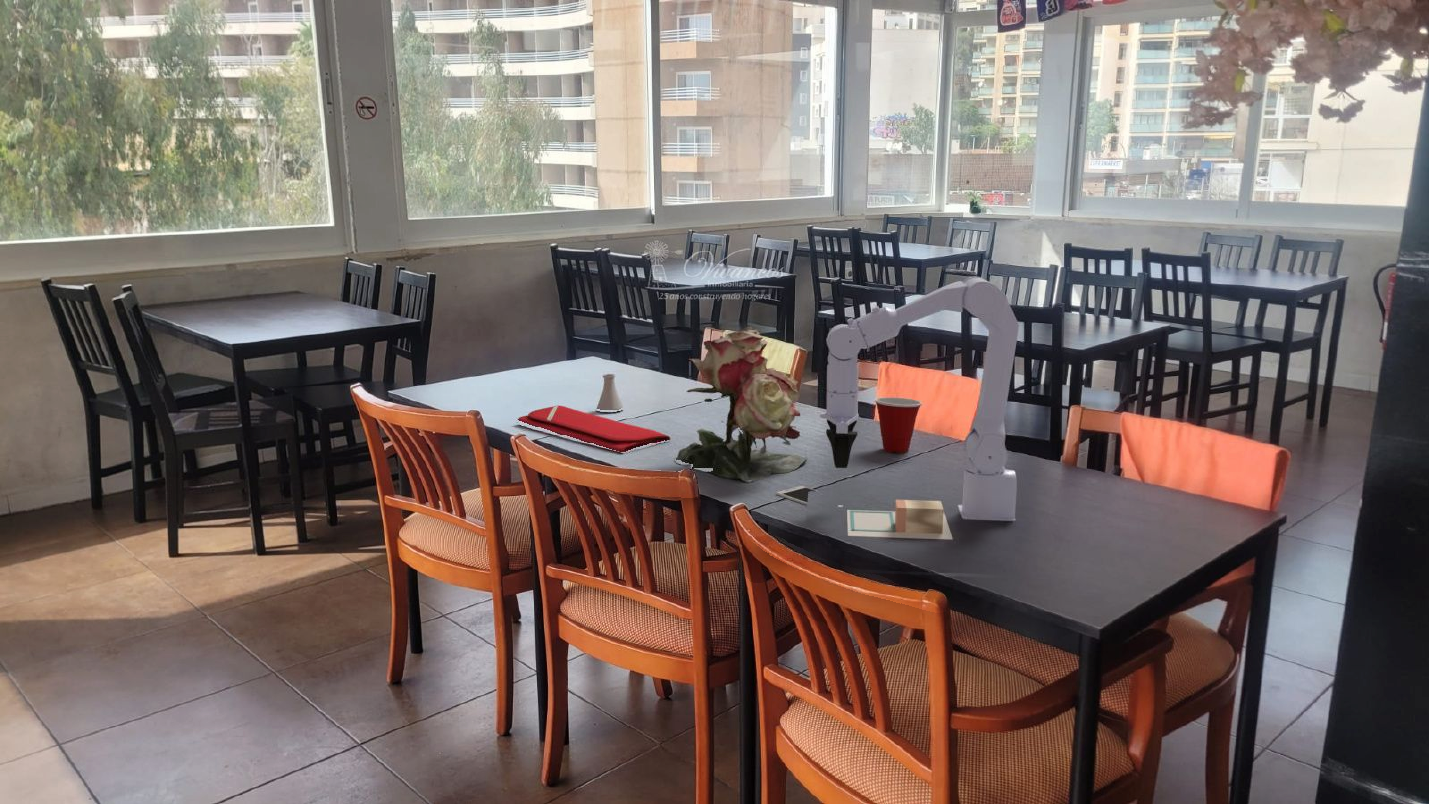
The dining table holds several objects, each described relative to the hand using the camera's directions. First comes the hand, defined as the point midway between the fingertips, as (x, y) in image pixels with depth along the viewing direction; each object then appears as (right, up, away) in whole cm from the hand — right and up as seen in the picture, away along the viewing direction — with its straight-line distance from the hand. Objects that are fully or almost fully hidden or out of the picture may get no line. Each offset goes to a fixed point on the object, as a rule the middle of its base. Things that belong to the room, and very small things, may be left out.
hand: (841, 461), depth 187 cm
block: (+13, -11, -8) cm, 19 cm away
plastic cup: (+19, 0, +45) cm, 49 cm away
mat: (+9, -11, -6) cm, 16 cm away
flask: (-52, +8, +86) cm, 101 cm away
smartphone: (-4, -9, +10) cm, 14 cm away
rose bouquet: (-16, -3, +36) cm, 39 cm away
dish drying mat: (-54, +3, +62) cm, 82 cm away
